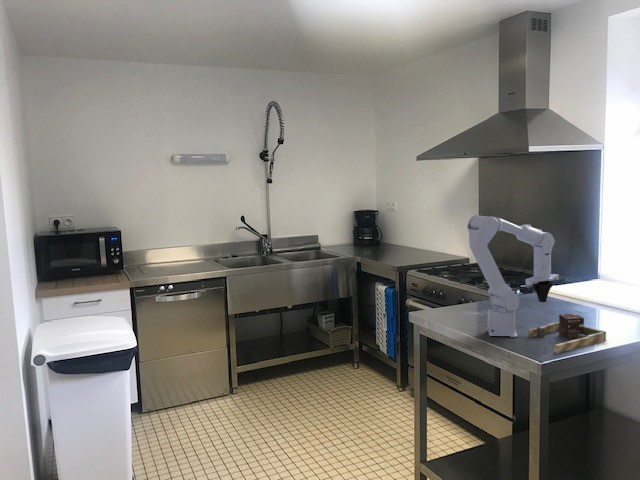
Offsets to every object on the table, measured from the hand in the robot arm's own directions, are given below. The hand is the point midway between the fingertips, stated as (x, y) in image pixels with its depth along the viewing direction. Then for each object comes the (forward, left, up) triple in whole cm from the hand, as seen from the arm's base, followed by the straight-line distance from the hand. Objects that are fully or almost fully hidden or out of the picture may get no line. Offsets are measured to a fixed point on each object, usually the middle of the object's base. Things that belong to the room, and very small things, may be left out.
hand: (542, 301), depth 192 cm
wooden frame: (+3, -14, -10) cm, 17 cm away
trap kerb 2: (+9, -17, -10) cm, 22 cm away
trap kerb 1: (-2, -10, -10) cm, 14 cm away
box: (+8, -10, -10) cm, 16 cm away
